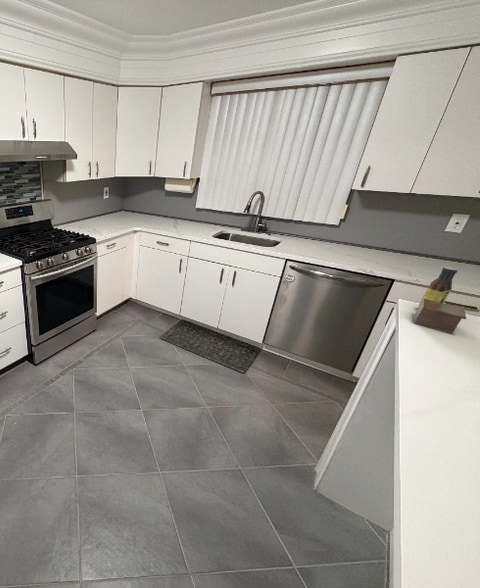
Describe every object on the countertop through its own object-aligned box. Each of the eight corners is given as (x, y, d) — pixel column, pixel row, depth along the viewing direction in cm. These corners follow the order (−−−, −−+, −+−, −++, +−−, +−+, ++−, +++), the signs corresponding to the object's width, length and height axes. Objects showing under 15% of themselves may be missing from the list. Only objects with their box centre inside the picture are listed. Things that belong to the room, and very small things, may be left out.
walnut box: (450, 324, 123) (459, 309, 120) (451, 334, 116) (461, 318, 113) (414, 314, 129) (422, 300, 126) (414, 323, 122) (422, 308, 120)
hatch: (462, 310, 119) (464, 308, 119) (465, 319, 112) (466, 317, 112) (422, 300, 126) (423, 298, 126) (422, 308, 119) (423, 306, 119)
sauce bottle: (437, 317, 128) (463, 272, 119) (416, 312, 131) (440, 268, 123) (435, 311, 132) (461, 268, 123) (415, 306, 136) (439, 264, 127)
